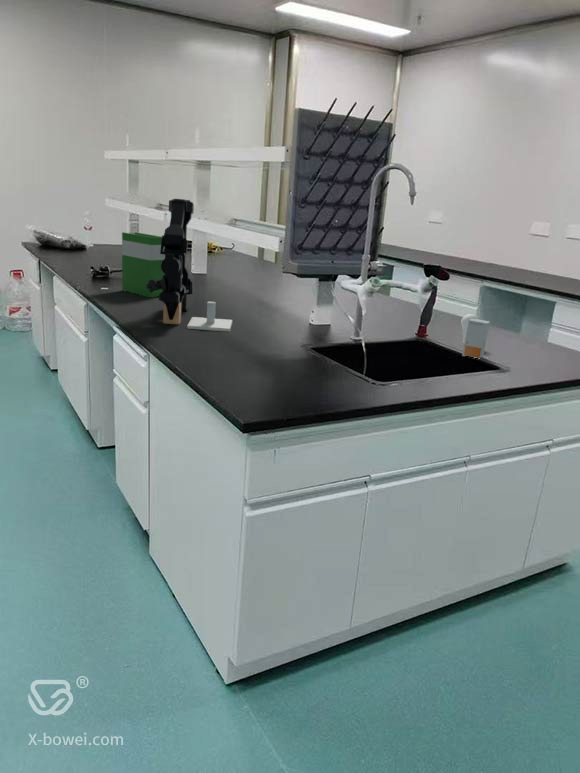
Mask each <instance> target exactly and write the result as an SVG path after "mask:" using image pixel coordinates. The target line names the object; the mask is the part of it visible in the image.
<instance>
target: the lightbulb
mask: <svg viewBox="0 0 580 773" xmlns="http://www.w3.org/2000/svg"><path fill="white" fill-rule="evenodd" d="M470 319H478V320H480V319H479V318H478V316H477V315H475V314H473V313H468V314H465V315H464V316H463V317H462V318H461V321H460V327H461V328H462V337H463V338H462V344H463V343H465V338H466V333H467V328H468V323H469V320H470Z"/></svg>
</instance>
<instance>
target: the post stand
mask: <svg viewBox="0 0 580 773" xmlns="http://www.w3.org/2000/svg"><path fill="white" fill-rule="evenodd" d="M216 304H217V303H216V301H209V300H208V301H207V302H206V317H199V316H192V317H191V319H190V320H189V322H188V324H187V326H186V329H188V330H189V329H190V330H202V331H213V332H214V331H217V332H229V333H231V329H232V325H233V319H224V318H216Z"/></svg>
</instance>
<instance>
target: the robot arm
mask: <svg viewBox="0 0 580 773" xmlns="http://www.w3.org/2000/svg"><path fill="white" fill-rule="evenodd" d="M194 206H195V205H194V203H193V202H192V201H191V199H183V198H173V199H170V200H168V211H169V213H170V221H169V226H168V227H167V228H165V230H164V233H163V235H161V237H162V241H161V251H160V254H165V259H164V260H163V261H162V263H161V269H162V271H163V273H164V275H163V277H162V278H161V279H157V280H155V279H152V280H149V282H148V283H147V289H148V290H149V293H151V292H153V291H156V290H159V289H162V292H161V293H160V294H159V297H158V301H160V302H163V304H164V303H165V304H166V307H167V311H168V316H169V319H170V320H173V318H174V315H175V313H176V310H177V308H178V305H179V303H180V302H181V312H187V311H188V309H189V306H188V302H187V301H188V296H190V295H193V292H194V291H193V281H192V280H191V279H192V278H191V277H190V272H189V270H188V269H187V266H186V257H187V252H188V245H189V244H188V242H189V241H188V239H187V229H188V228H187V227H188V224H189V223H190V222H191V219H192V218H193V217H192V216H193V214H194V211H195V210H194V209H195V207H194ZM163 249H164V251H163Z"/></svg>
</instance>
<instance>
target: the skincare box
mask: <svg viewBox="0 0 580 773" xmlns="http://www.w3.org/2000/svg"><path fill="white" fill-rule="evenodd" d="M478 319H479V318H478ZM478 319H470V320H469V323H468V328H467V333H466V338H465V343H464V344H463V348H462V349H463V350H462V354H461V356H462V357H465V356H472V357H477V358H481V357H482V358H484V354H485V350H486V348H485V347H486V344H487V337H488V334H489V328H490V324H491V321H489V320H484V319H479V320H478ZM482 358H481V359H482Z"/></svg>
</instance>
